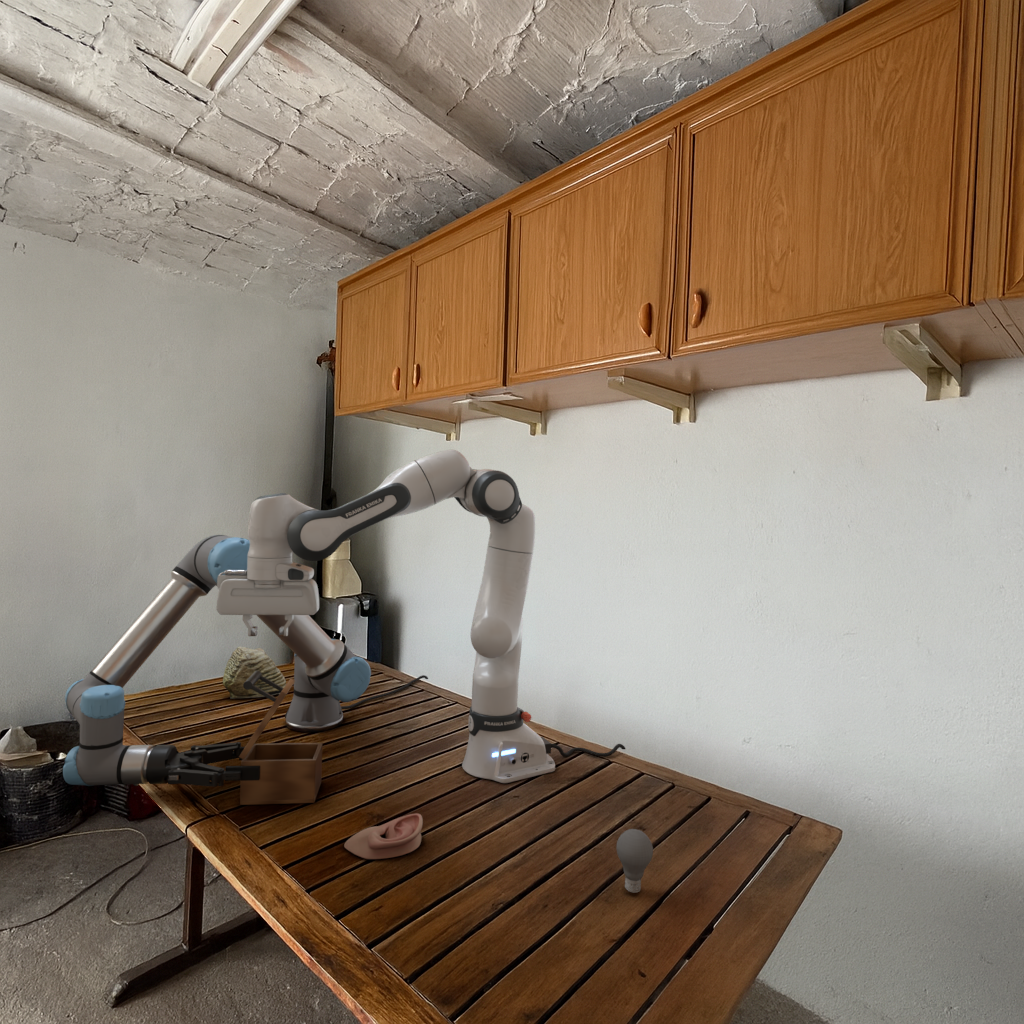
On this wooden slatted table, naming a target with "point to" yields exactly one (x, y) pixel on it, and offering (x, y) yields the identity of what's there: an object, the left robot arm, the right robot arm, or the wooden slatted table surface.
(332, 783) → the wooden slatted table surface
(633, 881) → the light bulb
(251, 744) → the lid
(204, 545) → the left robot arm
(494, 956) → the wooden slatted table surface
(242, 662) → the fossil
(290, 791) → the chest
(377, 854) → the anatomical model
